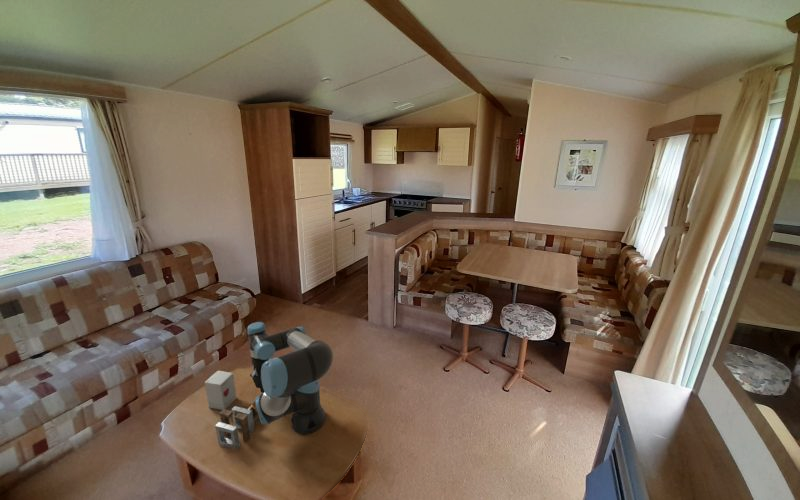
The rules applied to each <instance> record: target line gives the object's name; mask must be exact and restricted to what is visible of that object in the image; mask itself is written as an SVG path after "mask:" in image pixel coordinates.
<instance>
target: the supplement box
mask: <svg viewBox="0 0 800 500" xmlns="http://www.w3.org/2000/svg"><path fill="white" fill-rule="evenodd" d="M204 387H205V395H206V398H207V405H208V408H210V409H216V410H220V411H222V410H223V409H226V410H227V409H228V407H230V406H231V404H233V402H234V401H235V400H236V399H237V390H236V384H235V378H234V372H228V371H222V370H216V372H214V373H213V374H212V375H211V376H209V378H208V379H207V380H205V381H204Z"/></svg>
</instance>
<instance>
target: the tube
mask: <svg viewBox="0 0 800 500" xmlns="http://www.w3.org/2000/svg"><path fill="white" fill-rule="evenodd" d="M260 395H263V394H262V393H261V394H260ZM247 409H248V410H252V414H253V415H254V414H255V413H256V412H257V407H256V403H255V401H254V402H253V403H251V404H250V405H249V406H248V408H247ZM236 422H237V424H238V425H239V426H240V427H241V424H240V421H236Z"/></svg>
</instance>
